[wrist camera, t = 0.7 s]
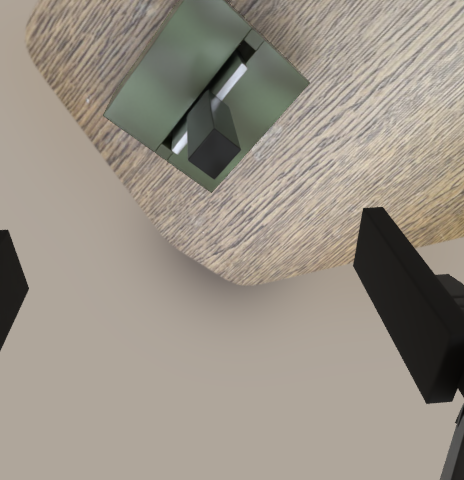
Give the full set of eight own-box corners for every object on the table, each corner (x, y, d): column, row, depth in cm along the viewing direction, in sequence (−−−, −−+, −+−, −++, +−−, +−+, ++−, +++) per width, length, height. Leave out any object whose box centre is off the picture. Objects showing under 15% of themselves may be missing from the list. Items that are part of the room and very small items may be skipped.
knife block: (208, 164, 43) (211, 193, 38) (113, 94, 38) (102, 115, 33) (294, 66, 38) (310, 83, 34) (197, -28, 34) (199, -24, 29)
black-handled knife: (185, 121, 40) (185, 214, 26) (167, 108, 40) (157, 195, 25) (242, 50, 37) (276, 111, 23) (224, 34, 37) (248, 86, 22)
